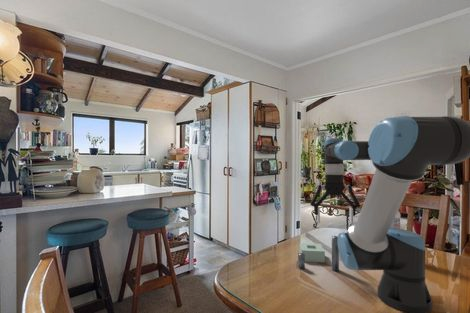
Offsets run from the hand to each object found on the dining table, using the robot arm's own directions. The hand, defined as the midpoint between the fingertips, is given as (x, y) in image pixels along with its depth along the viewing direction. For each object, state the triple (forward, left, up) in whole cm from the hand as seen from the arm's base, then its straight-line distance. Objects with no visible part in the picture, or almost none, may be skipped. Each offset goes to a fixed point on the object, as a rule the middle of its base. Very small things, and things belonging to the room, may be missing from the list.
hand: (334, 222), depth 109 cm
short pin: (-3, +15, -19) cm, 24 cm away
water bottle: (+15, -29, -19) cm, 38 cm away
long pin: (-3, +1, -19) cm, 19 cm away
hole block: (+9, +9, -19) cm, 23 cm away
